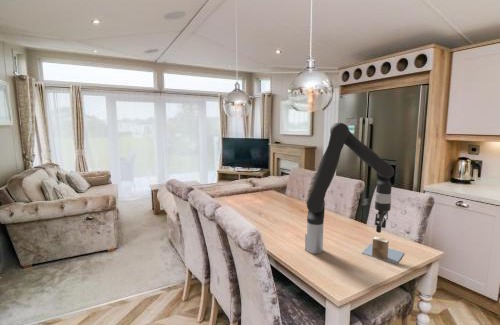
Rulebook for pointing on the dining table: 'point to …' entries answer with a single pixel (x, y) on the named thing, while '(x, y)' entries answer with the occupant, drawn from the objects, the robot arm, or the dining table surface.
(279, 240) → the dining table surface
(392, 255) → the mat
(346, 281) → the dining table surface
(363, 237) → the dining table surface
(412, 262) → the dining table surface
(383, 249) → the slab
